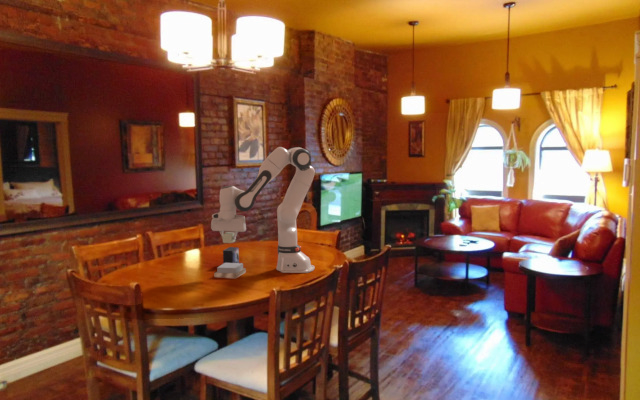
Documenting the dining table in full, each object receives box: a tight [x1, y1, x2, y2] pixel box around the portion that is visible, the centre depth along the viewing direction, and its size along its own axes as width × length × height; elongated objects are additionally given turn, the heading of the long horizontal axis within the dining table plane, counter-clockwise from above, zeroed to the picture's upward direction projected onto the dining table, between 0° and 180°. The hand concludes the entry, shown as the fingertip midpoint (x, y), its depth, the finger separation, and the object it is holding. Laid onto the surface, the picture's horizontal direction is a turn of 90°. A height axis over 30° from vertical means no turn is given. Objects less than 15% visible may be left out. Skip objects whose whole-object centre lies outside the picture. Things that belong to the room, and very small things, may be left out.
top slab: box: [216, 262, 244, 273], centre depth 258 cm, size 11×11×3 cm
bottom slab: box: [213, 267, 247, 279], centre depth 259 cm, size 13×13×3 cm
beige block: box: [222, 231, 236, 244], centre depth 257 cm, size 5×5×5 cm
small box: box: [222, 246, 240, 264], centre depth 279 cm, size 11×6×10 cm, turn 168°
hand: (229, 239), depth 257 cm, fingers closed on beige block, 5 cm apart
